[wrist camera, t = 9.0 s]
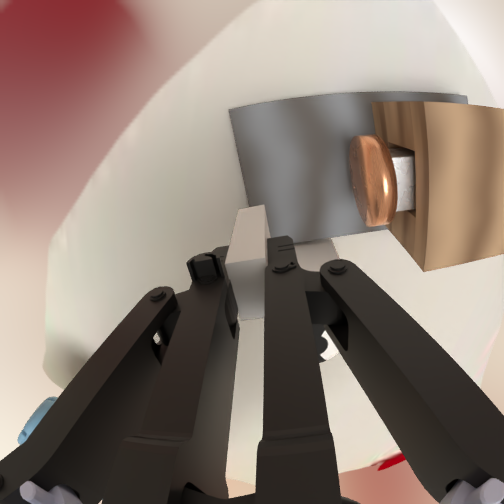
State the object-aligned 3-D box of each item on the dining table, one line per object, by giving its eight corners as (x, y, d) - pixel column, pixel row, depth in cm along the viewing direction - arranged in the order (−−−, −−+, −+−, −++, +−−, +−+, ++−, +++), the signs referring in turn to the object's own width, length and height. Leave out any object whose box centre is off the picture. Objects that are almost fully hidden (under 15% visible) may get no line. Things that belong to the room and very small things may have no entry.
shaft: (353, 209, 25) (378, 242, 19) (345, 132, 22) (373, 141, 16) (492, 193, 23) (532, 217, 16) (493, 130, 19) (537, 143, 13)
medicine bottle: (271, 297, 34) (271, 376, 24) (265, 243, 31) (262, 316, 20) (331, 291, 33) (352, 368, 23) (331, 236, 30) (360, 306, 20)
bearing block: (258, 242, 31) (253, 311, 21) (230, 109, 25) (204, 107, 15) (462, 212, 28) (520, 258, 17) (459, 95, 21) (531, 102, 11)
